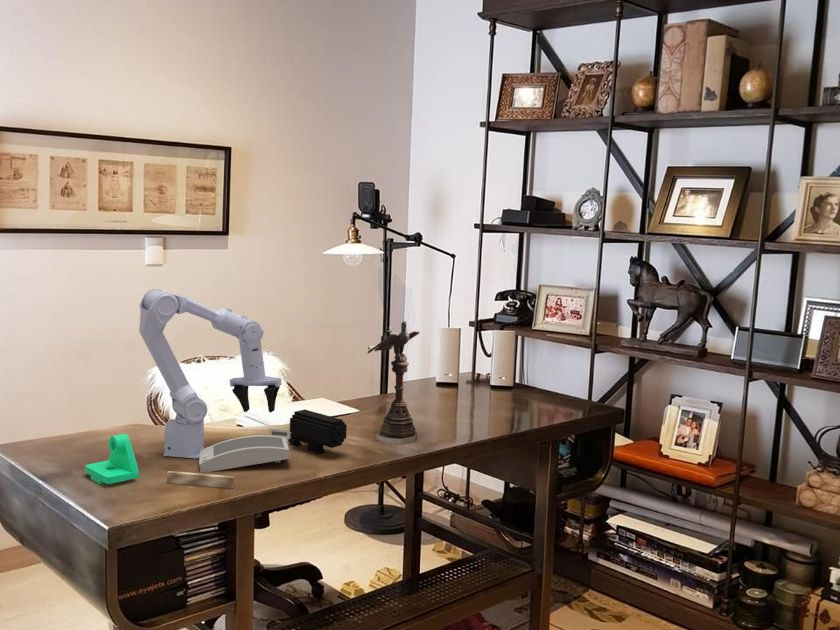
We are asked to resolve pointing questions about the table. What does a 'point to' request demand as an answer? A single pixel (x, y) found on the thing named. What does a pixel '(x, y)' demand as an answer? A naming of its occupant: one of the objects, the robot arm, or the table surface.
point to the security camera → (316, 431)
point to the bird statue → (397, 392)
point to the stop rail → (200, 479)
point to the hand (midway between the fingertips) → (259, 411)
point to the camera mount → (115, 463)
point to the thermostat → (243, 452)
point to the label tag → (280, 433)
